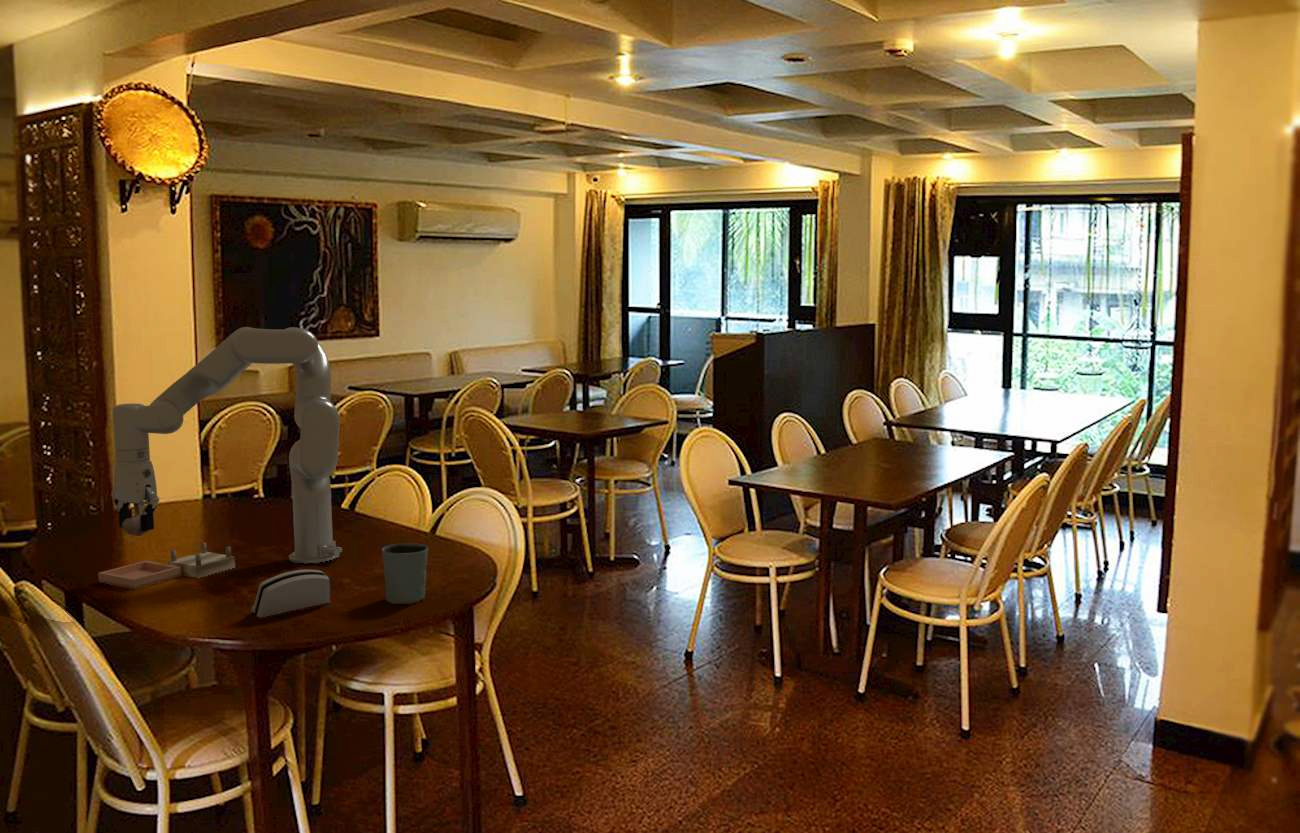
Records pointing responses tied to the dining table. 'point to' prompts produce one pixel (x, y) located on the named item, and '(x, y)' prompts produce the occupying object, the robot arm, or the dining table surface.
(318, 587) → the grey arched block
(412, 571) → the grey green cup
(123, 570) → the terracotta dish
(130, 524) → the garlic bulb
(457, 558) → the dining table surface
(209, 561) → the peg rest
